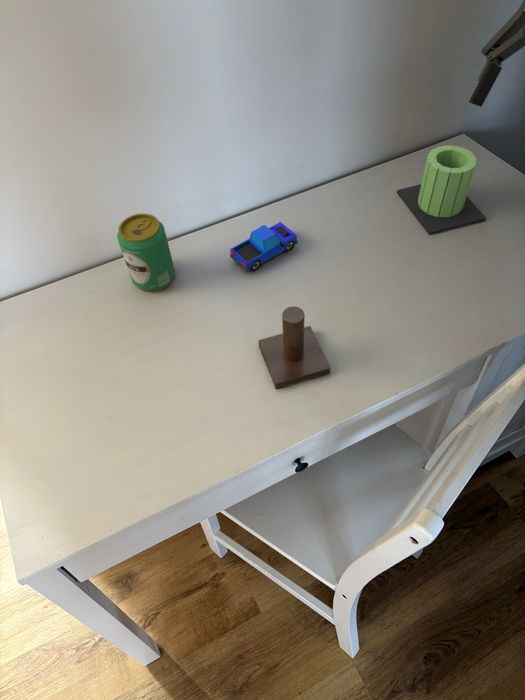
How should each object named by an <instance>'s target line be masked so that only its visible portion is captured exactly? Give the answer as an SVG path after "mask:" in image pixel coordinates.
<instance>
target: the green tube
mask: <svg viewBox="0 0 525 700" xmlns="http://www.w3.org/2000/svg"><path fill="white" fill-rule="evenodd" d="M477 164H478V159H477V157H476V155H475V154H474V153H473V152H472V151H471V150H469V149H467V148H465V147H462V146H458V145H452V144H451V145H450V144H449V145H439V146H437V147H435V148H432V150H430V151H429V153H428V154H427V156H426V160H425V166H424V171H423V175H422V179H421V183H420V184H421V188H420V193H419V197H418V204H419V207H420V208H421V209H422V210H423V211H424V212H426V213H428V214H429V215H432V216H436V217H438V216H439V217H450V216H451V217H452V216H454V215H456V214H458V213H459V212H461V210H462V208H463V206H464V203H465V199H466V196H467V197H468V192H469V189H470V187H471V183H472V180H473V176H474V173H475V170H476V167H477Z"/></svg>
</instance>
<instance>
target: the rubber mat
mask: <svg viewBox="0 0 525 700" xmlns="http://www.w3.org/2000/svg"><path fill="white" fill-rule="evenodd" d="M421 184H422V183H420V184H416V185H412V186H407V187H404V188H400V189H397V190H396V193H397V195H398V196H399V197H400V199H401V200H402V201H403V203H404V205H406V207H407V208H408V210H410V212H411V214H412V215H413V216H414V217H415V219H416V220H417V221H418V222H419V224H420V225H421V226H422V227H423V229H424V230H425V231H426V233H427V234H428V235H435V234H438V233H442V232H446V231H449V230H453V229H457V228H461V227H465V226H469V225H473V224H476V223H481V222H484V221H487V217H486V216H485V215H484V214H483V212H482V211H481V210H480V209H479V207H477V205H475V204H474V202H473V201H472V200H471V199H470V197H468V195H467V196H466V199H465V203H464V206H463V208H462V210H461V212H459V213H458V214H456V215H454V216H452V217H451V216H450V217H439V216H438V217H436V216H432V215H429V214H428V213H426V212H424V211H423V210H422V209H421V208H420V207H419V204H418V197H419V193H420V188H421Z"/></svg>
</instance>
